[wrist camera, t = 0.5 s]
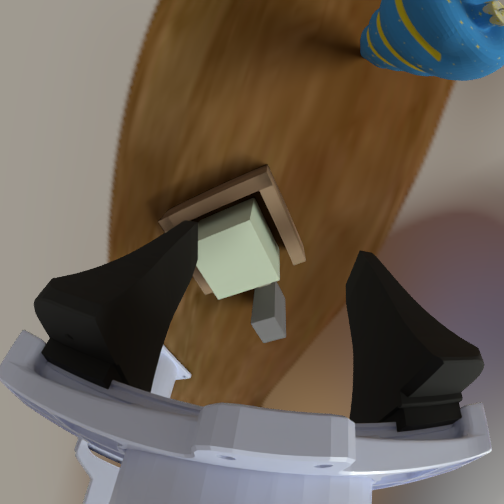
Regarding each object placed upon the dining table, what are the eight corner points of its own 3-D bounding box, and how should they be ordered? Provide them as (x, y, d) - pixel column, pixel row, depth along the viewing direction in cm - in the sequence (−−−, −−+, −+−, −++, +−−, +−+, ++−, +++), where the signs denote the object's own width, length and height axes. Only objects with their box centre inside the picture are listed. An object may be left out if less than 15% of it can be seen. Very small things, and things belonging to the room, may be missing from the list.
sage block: (199, 220, 23) (182, 250, 19) (254, 197, 22) (249, 223, 17) (251, 308, 27) (247, 346, 23) (299, 293, 26) (303, 332, 22)
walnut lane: (168, 209, 23) (158, 221, 20) (267, 164, 20) (266, 172, 18) (210, 278, 26) (205, 294, 24) (303, 245, 23) (305, 260, 21)
